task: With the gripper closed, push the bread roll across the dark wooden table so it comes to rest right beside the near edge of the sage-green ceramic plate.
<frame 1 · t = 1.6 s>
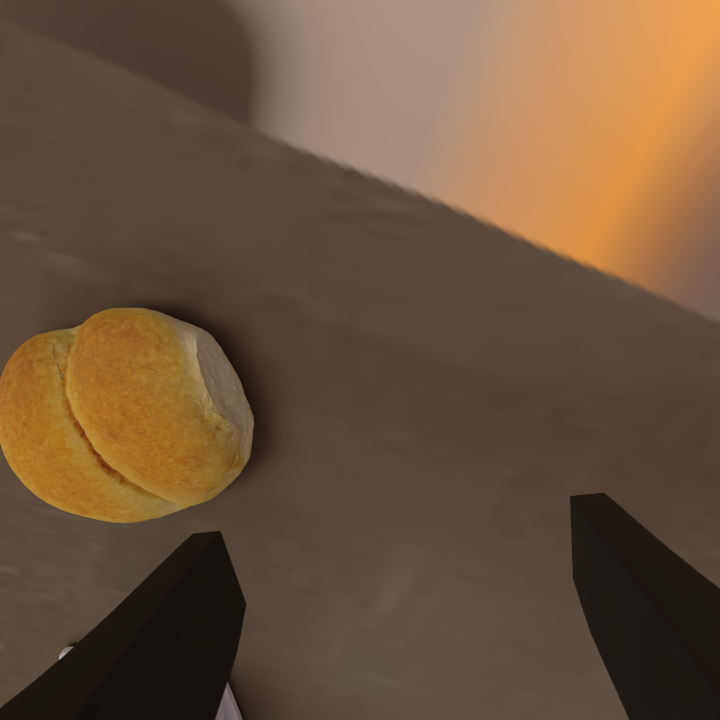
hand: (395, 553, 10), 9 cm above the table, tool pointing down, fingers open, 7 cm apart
bread roll: (148, 399, 21), on the table
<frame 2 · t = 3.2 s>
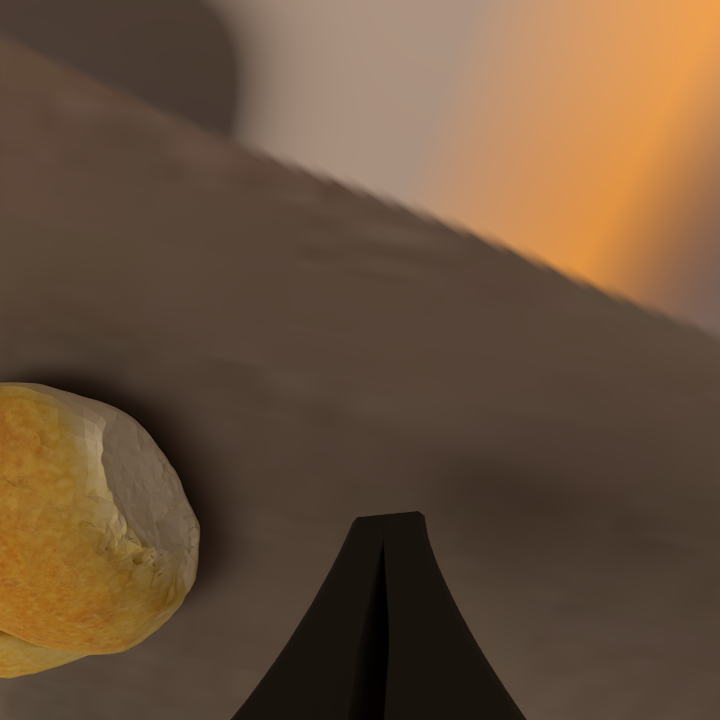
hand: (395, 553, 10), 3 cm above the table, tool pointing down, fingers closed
bread roll: (57, 496, 15), on the table
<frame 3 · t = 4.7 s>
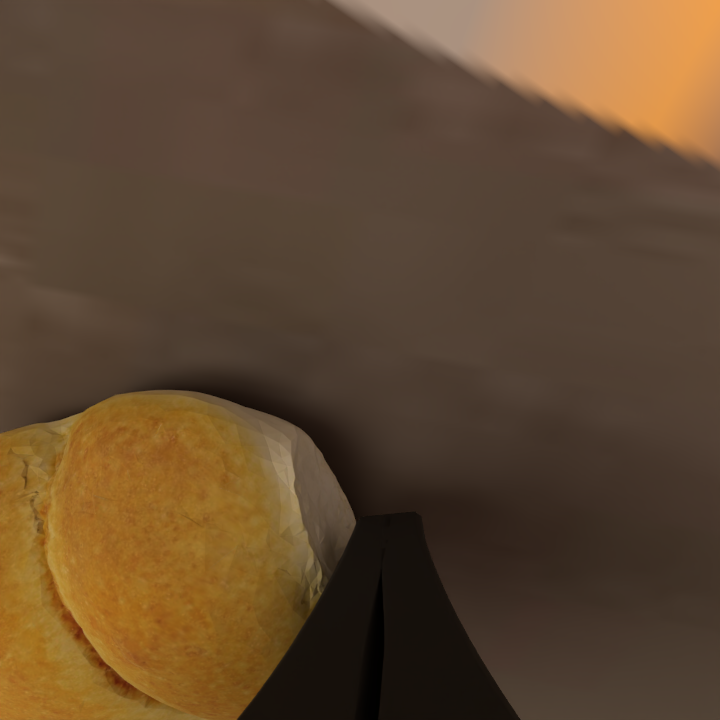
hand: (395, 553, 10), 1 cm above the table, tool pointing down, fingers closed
bread roll: (187, 523, 12), on the table, touching gripper
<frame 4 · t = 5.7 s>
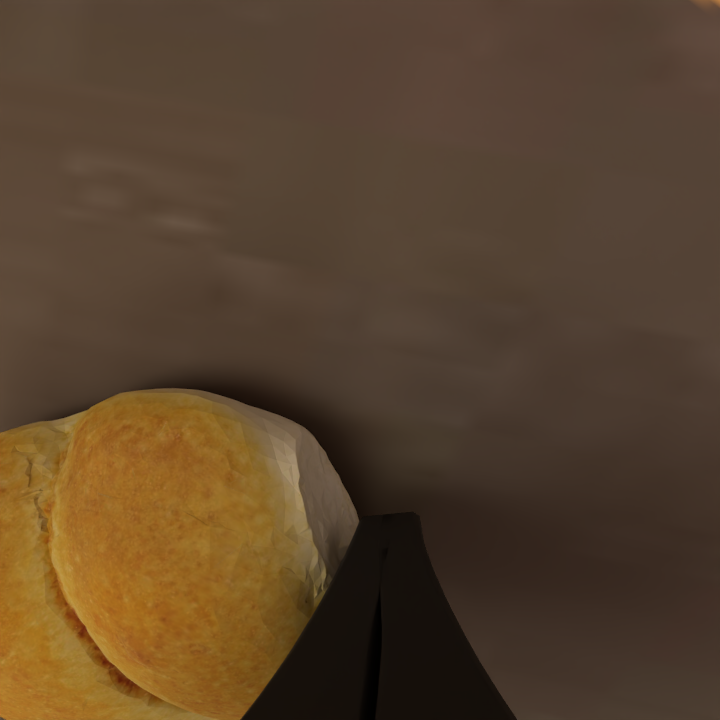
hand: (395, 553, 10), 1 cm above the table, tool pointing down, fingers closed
bread roll: (190, 522, 12), on the table, touching gripper
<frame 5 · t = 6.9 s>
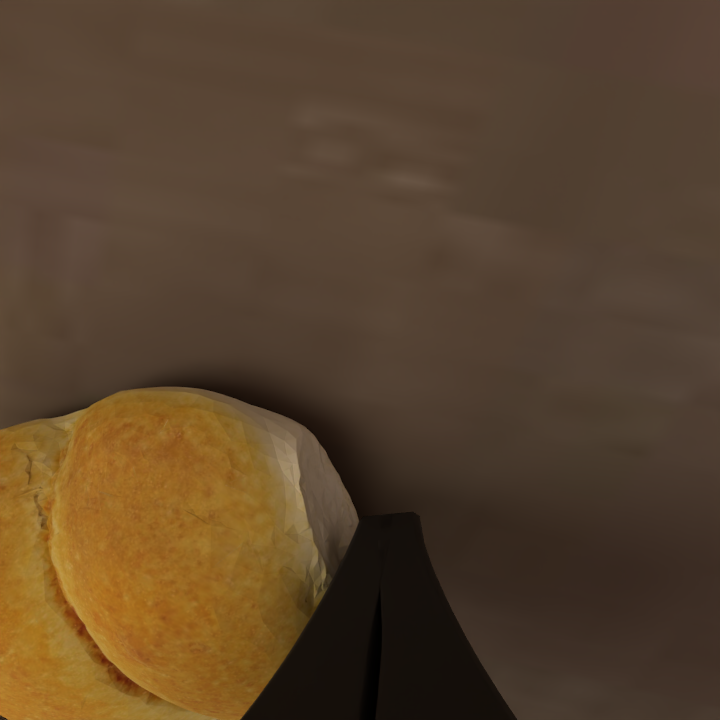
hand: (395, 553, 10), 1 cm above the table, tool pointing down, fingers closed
bread roll: (189, 521, 12), on the table, touching gripper
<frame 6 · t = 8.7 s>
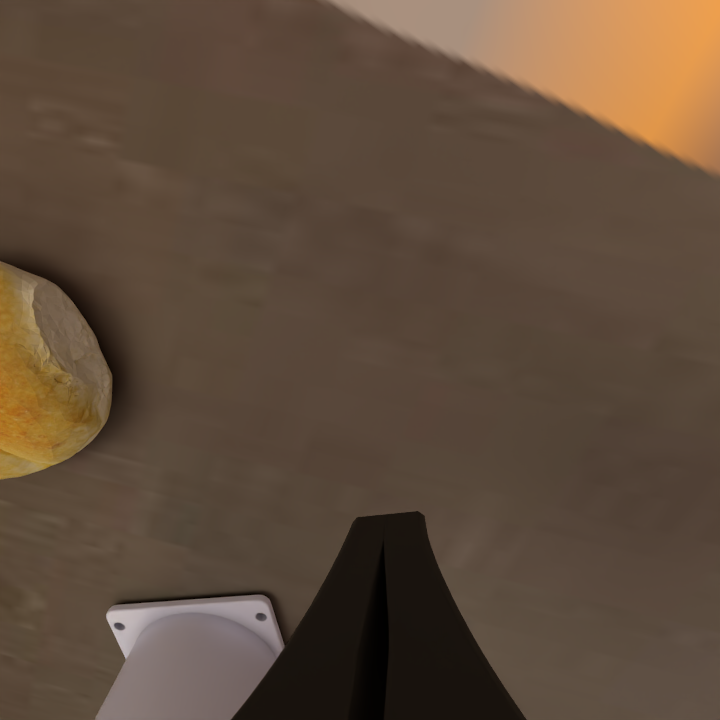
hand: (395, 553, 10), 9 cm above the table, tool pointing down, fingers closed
bread roll: (10, 357, 20), on the table
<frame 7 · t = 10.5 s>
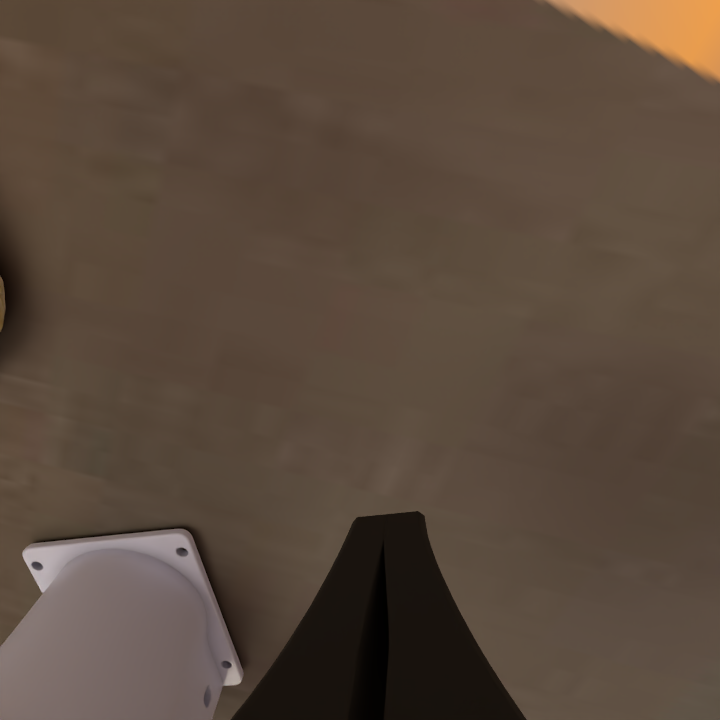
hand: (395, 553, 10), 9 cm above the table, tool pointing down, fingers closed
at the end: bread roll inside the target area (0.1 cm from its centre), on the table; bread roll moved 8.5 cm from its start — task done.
